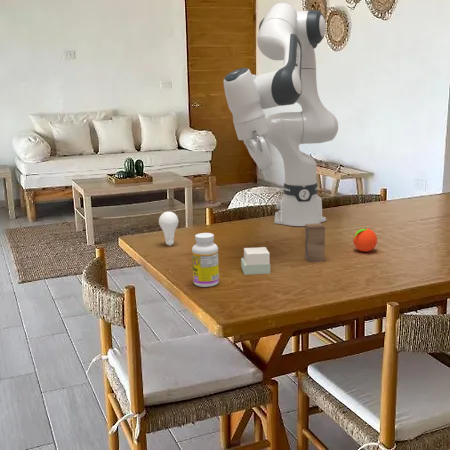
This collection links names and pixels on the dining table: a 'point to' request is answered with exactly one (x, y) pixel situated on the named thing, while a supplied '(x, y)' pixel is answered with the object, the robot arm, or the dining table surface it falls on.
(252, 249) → the tower cap
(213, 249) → the supplement bottle
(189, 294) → the dining table surface
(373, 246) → the clementine
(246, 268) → the tower base
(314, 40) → the robot arm
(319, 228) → the walnut post
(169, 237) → the lightbulb
